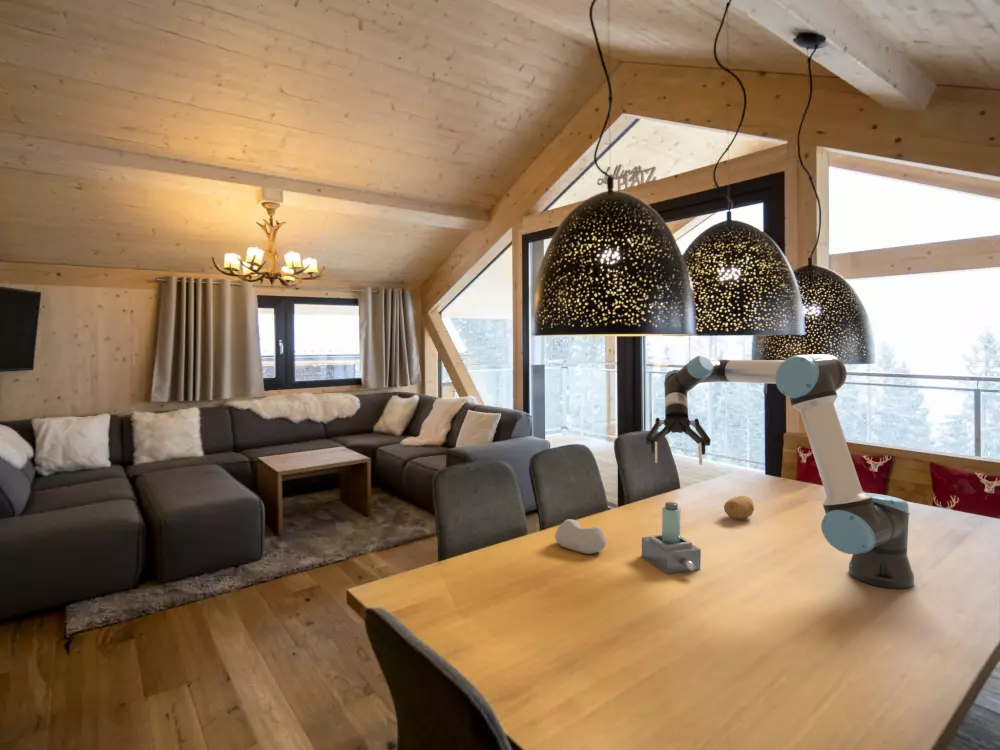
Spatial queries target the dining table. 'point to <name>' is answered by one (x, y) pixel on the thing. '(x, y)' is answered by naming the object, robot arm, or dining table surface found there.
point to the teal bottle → (671, 523)
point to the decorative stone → (580, 537)
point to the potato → (739, 507)
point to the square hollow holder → (671, 554)
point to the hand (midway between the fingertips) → (678, 461)
